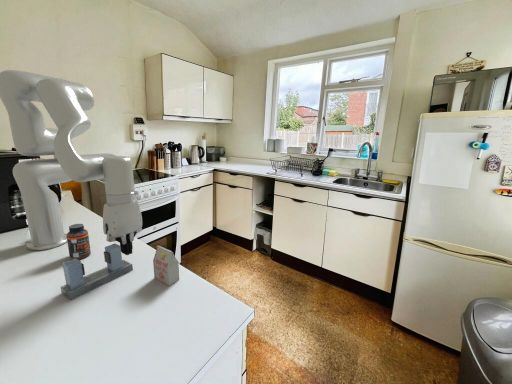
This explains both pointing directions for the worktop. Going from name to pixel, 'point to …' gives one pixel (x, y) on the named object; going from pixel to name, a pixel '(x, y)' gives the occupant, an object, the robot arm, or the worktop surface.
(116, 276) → the rail
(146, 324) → the worktop surface
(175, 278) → the white drink carton
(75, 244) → the supplement bottle
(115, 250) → the block
